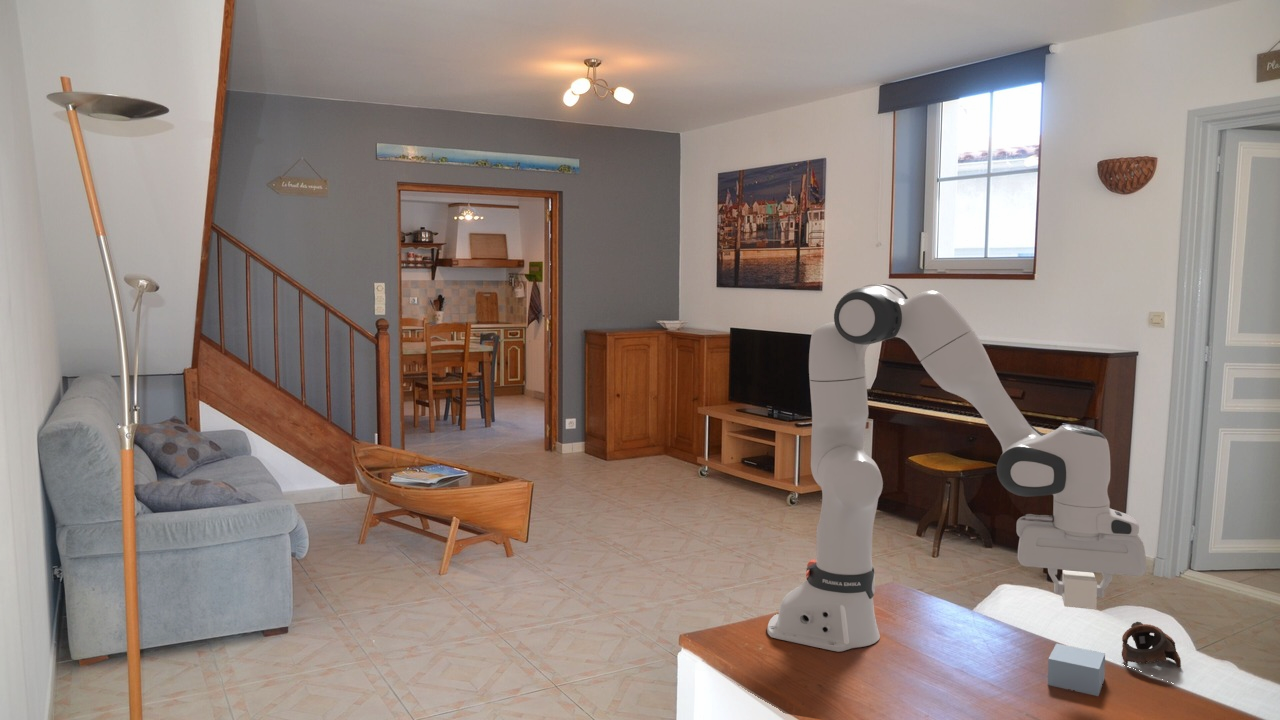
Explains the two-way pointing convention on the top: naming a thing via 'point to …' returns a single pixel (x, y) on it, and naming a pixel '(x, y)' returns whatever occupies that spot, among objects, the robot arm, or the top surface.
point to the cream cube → (1079, 589)
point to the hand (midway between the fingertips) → (1079, 594)
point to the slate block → (1076, 669)
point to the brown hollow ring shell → (1148, 645)
